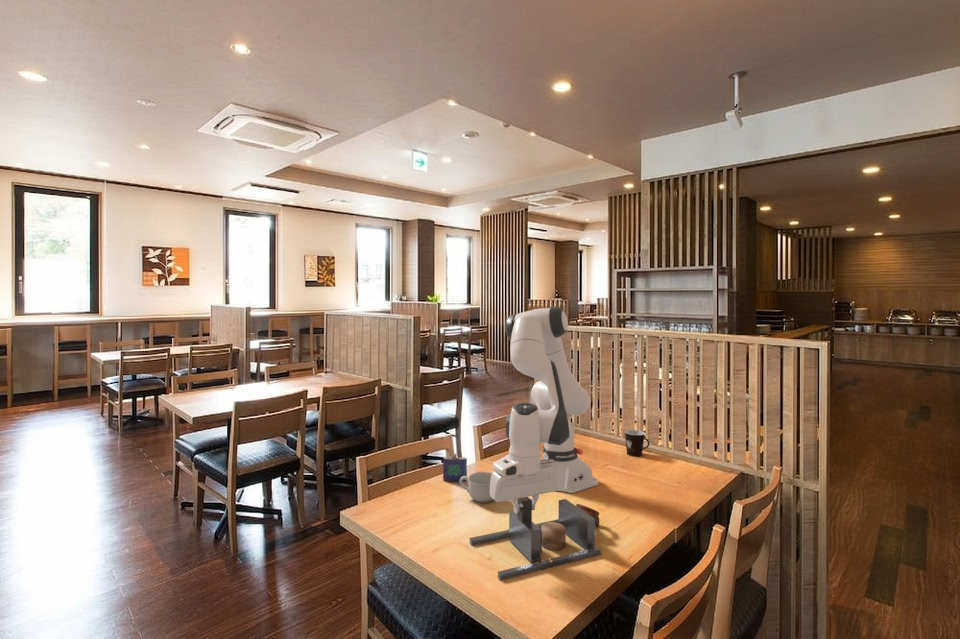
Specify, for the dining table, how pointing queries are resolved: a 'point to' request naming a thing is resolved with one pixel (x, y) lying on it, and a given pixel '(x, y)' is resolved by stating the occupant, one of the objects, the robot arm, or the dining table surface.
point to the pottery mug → (590, 513)
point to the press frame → (577, 529)
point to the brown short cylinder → (553, 536)
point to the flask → (454, 468)
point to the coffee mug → (635, 442)
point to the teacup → (478, 486)
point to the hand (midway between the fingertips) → (524, 510)
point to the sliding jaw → (525, 531)
